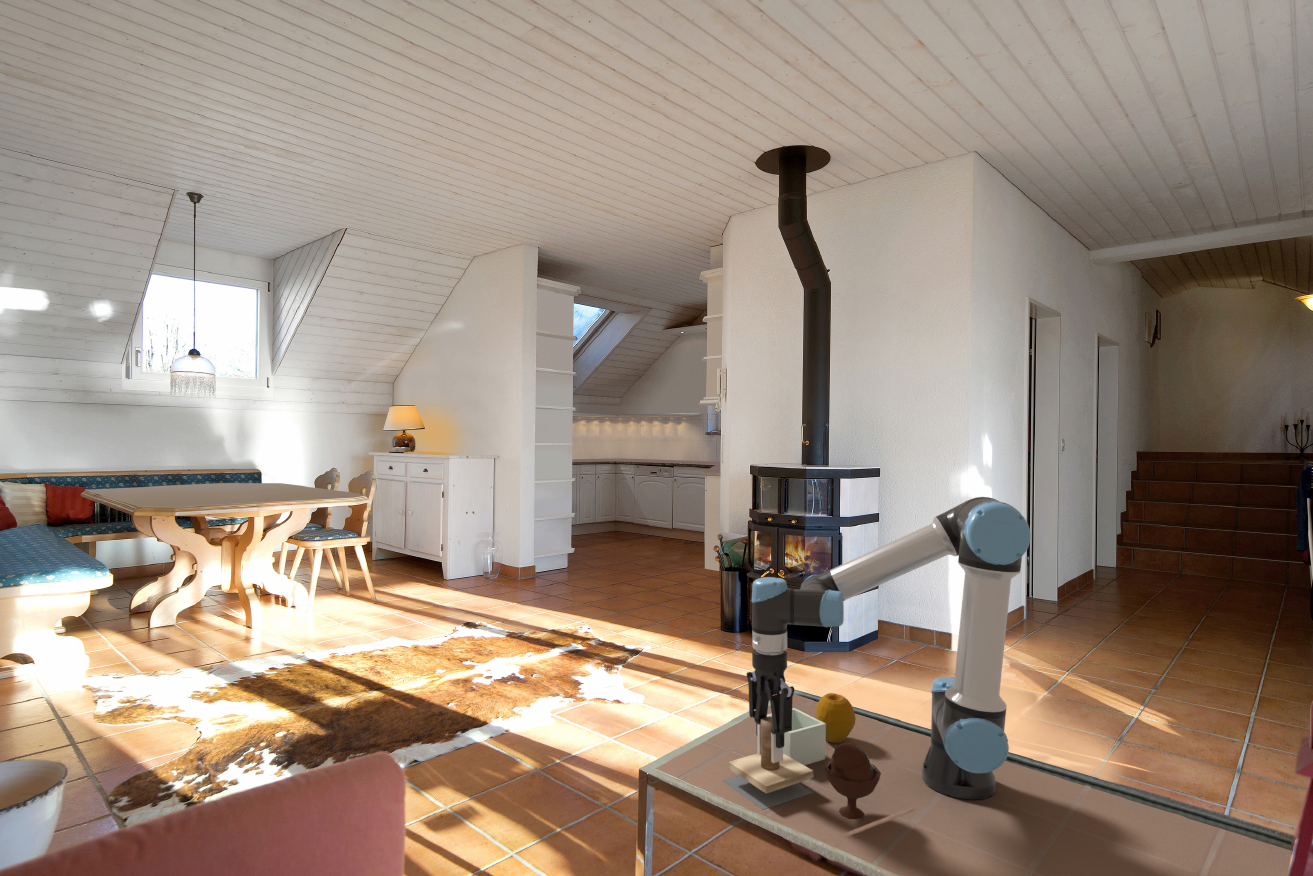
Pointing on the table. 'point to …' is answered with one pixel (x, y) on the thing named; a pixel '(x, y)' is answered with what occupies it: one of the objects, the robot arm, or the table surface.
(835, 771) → the ice cream bowl
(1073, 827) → the table surface
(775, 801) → the mat
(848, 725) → the apple
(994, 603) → the robot arm
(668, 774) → the table surface
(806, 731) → the pale green open box
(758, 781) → the lid
